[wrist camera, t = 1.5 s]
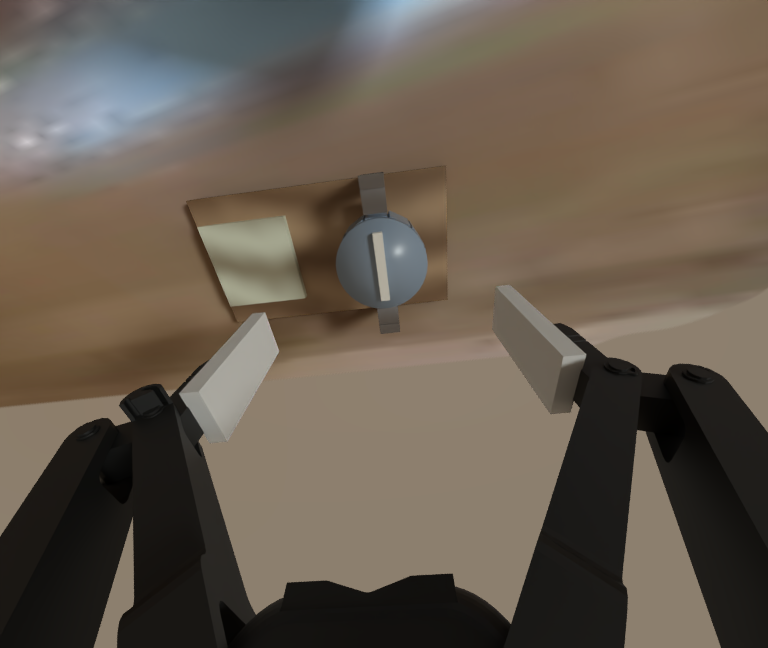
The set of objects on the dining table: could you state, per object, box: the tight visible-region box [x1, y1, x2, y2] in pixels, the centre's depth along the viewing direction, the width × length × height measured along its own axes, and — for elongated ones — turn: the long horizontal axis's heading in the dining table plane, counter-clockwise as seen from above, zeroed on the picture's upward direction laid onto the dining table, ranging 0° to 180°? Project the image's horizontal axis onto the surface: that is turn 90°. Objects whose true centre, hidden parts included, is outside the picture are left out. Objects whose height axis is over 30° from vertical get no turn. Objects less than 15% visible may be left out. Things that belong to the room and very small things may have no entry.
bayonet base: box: [186, 166, 448, 334], centre depth 29 cm, size 14×26×7 cm, turn 97°
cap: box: [336, 210, 428, 308], centre depth 26 cm, size 11×8×6 cm
